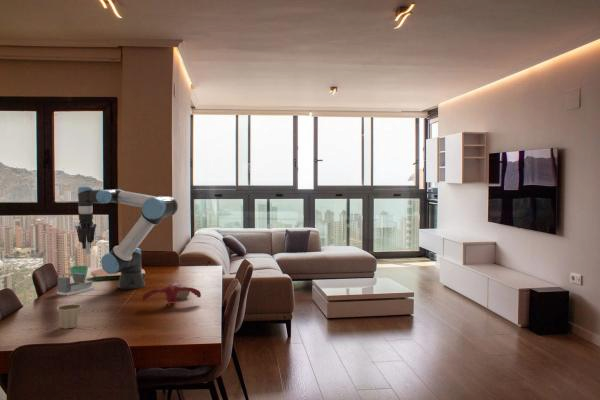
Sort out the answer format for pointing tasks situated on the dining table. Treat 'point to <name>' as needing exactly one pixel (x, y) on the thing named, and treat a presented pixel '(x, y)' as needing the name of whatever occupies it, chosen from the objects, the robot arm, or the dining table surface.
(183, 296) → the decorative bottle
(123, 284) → the robot arm
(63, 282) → the gauge housing
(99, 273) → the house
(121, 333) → the dining table surface
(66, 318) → the flower pot
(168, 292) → the decorative bird sculpture
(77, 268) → the mug
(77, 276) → the purple-grey block
